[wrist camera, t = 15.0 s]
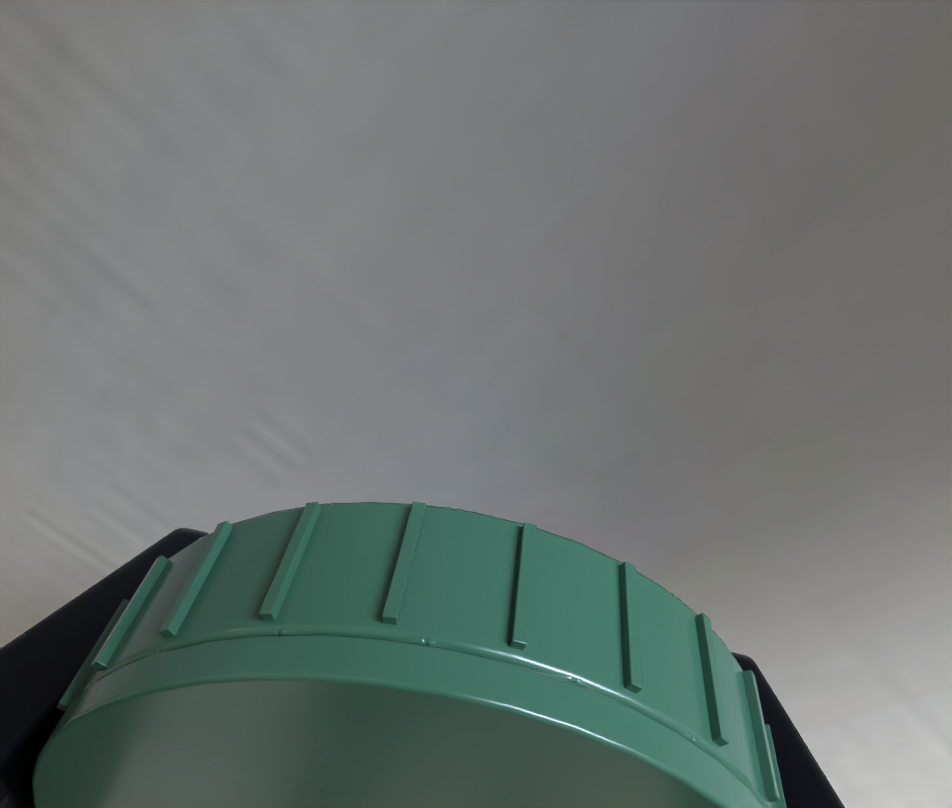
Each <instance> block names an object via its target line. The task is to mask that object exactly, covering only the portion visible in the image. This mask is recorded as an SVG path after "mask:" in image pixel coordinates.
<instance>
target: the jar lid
mask: <svg viewBox="0 0 952 808" xmlns="http://www.w3.org/2000/svg"><path fill="white" fill-rule="evenodd" d="M57 708H58V709H61V710H63V711H65V713H64V714H63V716H62V718H61V719H60V721H59V722H58V724H57V725H56V727H55V728H54V730H53V732H52V733H51V735H50V737H49V738H48V740H47V741H46V743H45V745H44V746H43V748H42V750H41V751H40V753H39V755H38V757H37V761H36V765H35V769H34V772H33V776H32V793H33V803H34V806H35V808H787V807H786V802H785V798H784V793H783V788H782V783H781V778H780V774H779V769H778V764H777V759H776V754H775V750H774V745H773V740H772V735H771V730H770V726H769V725H768V724H764V719H763V714H762V709H761V704H760V699H759V694H758V689H757V684H756V679H755V675H754V674H753V672H752V670H746V671H743V670H742V668H741V667H740V665H739V664H738V663H737V660H736V659H735V658H734V657H733V655H732V654H731V652H730V651H729V649H728V648H727V647H726V645H725V644H724V642H723V641H722V640H721V639H720V638H719V636H718V635H717V634H716V633H715V632H714V631H713V630H712V629H711V622H710V619H709V618H708V617H707V616H706V615H705V614H704V613H702V614H699V615H697V614H696V613H695V612H694V611H693V610H691V609H690V608H689V607H688V606H686V605H685V604H684V603H683V602H682V601H681V600H680V599H679V598H676V597H675V596H674V595H673V594H672V593H670V592H668V591H667V590H666V589H664V588H663V587H662V586H660V585H658V584H657V583H655V582H653V581H652V580H650V579H648V578H647V577H645V576H643V575H642V574H640V573H638V572H637V571H636V569H635V566H633V565H631V564H629V563H627V562H624V563H621V562H619V561H617V560H615V559H613V558H611V557H608V556H606V555H604V554H602V553H600V552H598V551H595V550H593V549H591V548H589V547H587V546H585V545H583V544H581V543H578V542H575V541H574V540H571V539H568V538H564V537H561V536H558V535H555V534H552V533H549V532H546V531H543V530H541V529H538V528H537V527H536V526H535V525H532V524H528V523H524V524H521V523H517V522H513V521H509V520H505V519H501V518H496V517H492V516H488V515H484V514H480V513H476V512H469V511H464V510H461V509H452V508H449V507H435V506H428V505H426V504H425V503H417V502H413V504H399V503H379V502H360V503H331V504H320V505H319V503H318V502H314V503H307V504H306V506H305V507H301V508H295V509H288V510H282V511H276V512H271V513H268V514H264V515H261V516H257V517H254V518H250V519H247V520H243V521H240V522H237V523H233V524H230V523H229V522H228V521H225V522H223V523H220V524H218V525H217V527H216V529H215V531H214V532H213V533H211V534H208V535H206V536H204V537H202V538H199V539H198V540H196V541H195V542H193V543H192V544H190V545H189V546H187V547H186V548H184V549H183V550H181V551H180V552H178V553H177V554H175V555H174V556H172V557H171V558H169V559H167V558H165V557H164V556H162V555H161V556H160V557H158V558H157V559H156V560H155V562H154V563H153V565H152V566H151V568H150V570H149V571H148V573H147V575H146V576H145V578H144V579H143V581H142V583H141V584H140V586H139V587H138V589H137V591H136V592H135V594H134V596H133V597H132V599H131V600H130V601H129V600H126V599H124V600H123V601H122V603H121V604H120V606H119V607H118V609H117V611H116V612H115V614H114V615H113V617H112V619H111V620H110V622H109V623H108V625H107V626H106V628H105V630H104V631H103V633H102V634H101V636H100V638H99V639H98V641H97V642H96V644H95V646H94V647H93V649H92V650H91V652H90V654H89V655H88V657H87V658H86V660H85V662H84V663H83V665H82V666H81V668H80V669H79V671H78V673H77V674H76V676H75V677H74V679H73V681H72V682H71V684H70V685H69V687H68V689H67V690H66V692H65V693H64V695H63V697H62V698H61V700H60V701H59V703H58V705H57Z"/></svg>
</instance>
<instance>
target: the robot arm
mask: <svg viewBox="0 0 952 808" xmlns="http://www.w3.org/2000/svg"><path fill="white" fill-rule="evenodd" d="M208 534H209V533H206V532H202V531H197V530H193V529H188V528H179V529H176V530H174V531H173V532H171V533H170V534H168V535H167V536H165V537H164V538H162V539H161V540H159V541H158V542H157V543H155V544H154V545H152V546H151V547H149V548H148V549H146V550H145V551H143V552H142V553H140V554H139V555H137V556H136V557H135V558H133V559H132V560H130V561H129V562H127V563H126V564H124V565H123V566H121V567H120V568H118V569H117V570H115V571H114V572H113V573H111V574H110V575H108V576H107V577H105V578H104V579H102V580H101V581H99V582H98V583H96V584H95V585H93V586H92V587H91V588H89V589H88V590H86V591H85V592H83V593H82V594H80V595H79V596H77V597H76V598H74V599H73V600H71V601H70V602H68V603H67V604H66V605H64V606H63V607H61V608H60V609H58V610H57V611H55V612H54V613H52V614H51V615H49V616H48V617H46V618H45V619H44V620H42V621H41V622H39V623H38V624H36V625H35V626H33V627H32V628H30V629H29V630H27V631H26V632H24V633H23V634H22V635H20V636H19V637H17V638H16V639H14V640H13V641H11V642H10V643H8V644H7V645H5V646H4V647H2V648H1V649H0V808H35V806H34V803H33V793H32V776H33V772H34V769H35V765H36V761H37V757H38V755H39V753H40V751H41V750H42V748H43V746H44V745H45V743H46V741H47V740H48V738H49V737H50V735H51V733H52V732H53V730H54V728H55V727H56V725H57V724H58V722H59V721H60V719H61V718H62V716H63V714H64V713H65V711H63V710H61V709H58V708H57V705H58V703H59V701H60V700H61V698H62V697H63V695H64V693H65V692H66V690H67V689H68V687H69V685H70V684H71V682H72V681H73V679H74V677H75V676H76V674H77V673H78V671H79V669H80V668H81V666H82V665H83V663H84V662H85V660H86V658H87V657H88V655H89V654H90V652H91V650H92V649H93V647H94V646H95V644H96V642H97V641H98V639H99V638H100V636H101V634H102V633H103V631H104V630H105V628H106V626H107V625H108V623H109V622H110V620H111V619H112V617H113V615H114V614H115V612H116V611H117V609H118V607H119V606H120V604H121V603H122V601H123V600H124V599H126V600H129V601H130V600H131V599H132V597H133V596H134V594H135V592H136V591H137V589H138V587H139V586H140V584H141V583H142V581H143V579H144V578H145V576H146V575H147V573H148V571H149V570H150V568H151V566H152V565H153V563H154V562H155V560H156V559H157V558H158V557H160V556H161V555H162V556H164V557H165V558H167V559H169V558H171V557H172V556H174V555H175V554H177V553H178V552H180V551H181V550H183V549H184V548H186V547H187V546H189V545H190V544H192V543H193V542H195V541H196V540H198V539H199V538H202V537H204V536H206V535H208ZM731 654H732V655H733V657H734V658H735V659H736V660H737V663H738V664H739V665H740V667H741V668H742V670H743V671H746V670H752V672H753V674H754V675H755V679H756V684H757V689H758V694H759V699H760V704H761V709H762V714H763V719H764V724H768V725H769V726H770V730H771V735H772V740H773V745H774V750H775V754H776V759H777V764H778V769H779V774H780V778H781V783H782V788H783V793H784V798H785V802H786V807H787V808H845V807H844V805H843V804H842V802H841V801H840V799H839V797H838V796H837V794H836V793H835V791H834V789H833V788H832V786H831V784H830V783H829V781H828V780H827V778H826V776H825V775H824V773H823V771H822V770H821V768H820V767H819V765H818V763H817V762H816V760H815V759H814V757H813V755H812V754H811V752H810V750H809V749H808V747H807V746H806V744H805V742H804V741H803V739H802V737H801V736H800V734H799V733H798V731H797V729H796V728H795V726H794V724H793V723H792V721H791V720H790V718H789V716H788V715H787V713H786V712H785V710H784V708H783V707H782V705H781V703H780V702H779V700H778V699H777V697H776V695H775V694H774V692H773V690H772V689H771V687H770V686H769V684H768V682H767V681H766V679H765V678H764V676H763V674H762V673H761V671H760V669H759V668H758V666H757V665H756V663H755V662H754V661H753V660H752V659H751V658H750V657H748V656H745V655H741V654H737V653H733V652H731Z"/></svg>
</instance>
